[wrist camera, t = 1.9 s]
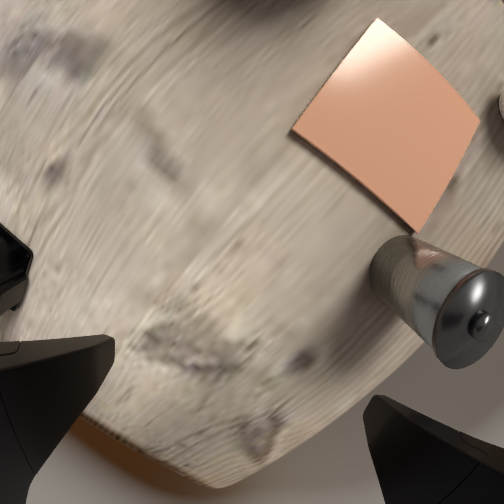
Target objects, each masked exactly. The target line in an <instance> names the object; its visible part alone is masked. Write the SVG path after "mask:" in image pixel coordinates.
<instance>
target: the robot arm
mask: <svg viewBox="0 0 504 504" xmlns="http://www.w3.org/2000/svg"><path fill="white" fill-rule="evenodd" d="M26 253H27V254H28V256H27V254H26ZM32 258H33V252H32V250H31V249H30V248H28V247H27V246H26V245H25V244H24V243H23V242H21V241H20V240H19V239H18V238H17V237H16V236H14V235H13V234H12V233H11V232H10V231H9V230H8V229H7V228H5V227H4V226H3V225H2V224H1V223H0V316H1V315H2V314H3V313H5V312H6V311H7V310H9V309H11V310H12V311H15V310H17V309H18V307H19V303H20V301H21V300H22V297H23V294H24V290H25V286H26V283H27V280H28V276H27V274H28V271H29V268H30V264H31V261H32ZM114 359H115V340H114V338H113V337H110V336H108V335H104V334H102V335H92V336H83V337H72V338H61V339H49V340H35V341H21V343H20V341H13V342H0V504H26V498H27V494H28V490H29V487H30V484H31V482H32V480H33V478H34V476H35V475H36V474H37V473H38V471H39V470H40V468H41V467H42V466H43V464H44V463H45V461H46V460H47V459H48V457H49V456H50V455H51V453H52V452H53V450H54V449H55V448H56V446H57V445H58V443H59V442H60V441H61V439H62V438H63V437H64V436H65V434H66V433H67V431H68V430H69V429H70V427H71V426H72V425H73V424H74V422H75V421H76V420H77V418H78V417H79V416H80V414H81V413H82V412H83V410H84V409H85V408H86V406H87V405H88V404H89V402H90V401H91V400H92V399H93V397H94V396H95V394H96V393H97V392H98V390H99V388H100V387H101V385H102V383H103V381H104V379H105V378H106V376H107V374H108V372H109V371H110V369H111V367H112V365H113V363H114ZM363 421H364V426H365V431H366V436H367V442H368V447H369V451H370V454H371V457H372V460H373V464H374V467H375V470H376V473H377V477H378V480H379V483H380V487H381V490H382V493H383V497H384V501H385V504H504V448H501V447H498V446H496V445H493V444H490V443H487V442H484V441H482V440H479V439H477V438H474V437H472V436H470V435H467V434H465V433H463V432H458V431H457V430H455V429H453V428H451V427H449V426H446V425H444V424H442V423H440V422H438V421H436V420H433V419H431V418H429V417H427V416H425V415H423V414H421V413H419V412H417V411H415V410H413V409H410V408H409V407H407V406H405V405H403V404H401V403H398V402H397V401H395V400H393V399H391V398H389V397H387V396H384V395H374V396H373V397H372V399H371V400H370V402H369V404H368V405H367V407H366V409H365V411H364V413H363Z"/></svg>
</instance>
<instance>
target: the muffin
mask: <svg viewBox="0 0 504 504" xmlns="http://www.w3.org/2000/svg"><path fill="white" fill-rule="evenodd" d="M499 108H500V109H499V110H500V113H501V115H502V118H503V119H504V91H503V93H502V94H501V95H500V98H499Z"/></svg>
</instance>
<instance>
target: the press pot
mask: <svg viewBox="0 0 504 504" xmlns="http://www.w3.org/2000/svg"><path fill="white" fill-rule="evenodd" d="M370 283H371V287H372V289H373V291H374V293H375V294H376V295H377V296H378V297H379V298H380V299H381V300H382V301H383V302H384V303H385V304H386V305H387V306H388V307H389V308H390V309H392V310H393V311H394V312H395V313H396V314H397V315H398V316H399V317H400V318H401V319H402V320H403V321H404V322H405V323H406V324H407V325H408V326H409V327H410V328H411V329H412V330H413V331H415V332H416V333H417V334H418V335H419V336H420V337H421V338H422V339H423V340H424V341H425V342H426V343H427V344H428V345H429V346H430V347H431V348H432V349H433V351H434V353H435V355H436V357H437V358H438V359H439V360H440V361H441V362H442V363H443V364H444V365H445V366H446V367H448V368H451V369H461V368H465V367H467V366H469V365H471V364H473V363H475V362H476V361H477V360H479V359H480V358H481V357H483V356H484V355H485V353H487V352H488V350H489V349H490V348H491V347H492V346H493V344H494V343H495V342H496V340H497V338H498V337H499V335H500V333H501V331H502V329H503V327H504V276H503V275H501V274H500V273H498V272H496V271H494V270H491V269H487V268H481V267H479V266H477V265H475V264H473V263H471V262H468V261H466V260H464V259H462V258H460V257H458V256H455V255H453V254H451V253H449V252H446V251H444V250H442V249H440V248H437V247H435V246H433V245H430V244H428V243H426V242H423V241H421V240H419V239H416V238H414V237H411V236H407V235H402V236H397V237H394V238H392V239H390V240H388V241H387V242H386V243H384V244H383V245H382V246H381V247H380V249H379V250H378V251H377V253H376V254H375V256H374V258H373V261H372V264H371V268H370Z"/></svg>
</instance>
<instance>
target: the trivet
mask: <svg viewBox="0 0 504 504" xmlns="http://www.w3.org/2000/svg"><path fill="white" fill-rule="evenodd" d="M479 122H480V120H479V118H478V117H477V116H476V114H475V113H474V112H473V111H472V109H471V108H470V107H469V106H468V105H467V103H466V102H465V101H464V100H463V99H462V98H461V96H460V95H459V94H458V93H457V92H456V91H455V90H454V88H453V87H452V86H451V85H450V84H449V83H448V82H447V81H446V80H445V79H444V78H443V76H442V75H441V74H440V73H439V72H438V71H437V70H436V69H435V68H434V67H433V66H432V65H431V64H430V63H429V62H428V61H427V60H426V59H425V58H424V57H423V56H421V55H420V54H419V53H418V52H417V51H416V50H415V49H414V48H413V47H412V46H411V45H409V44H408V43H407V42H406V41H405V40H404V39H403V38H402V37H400V36H399V35H398V34H397V33H396V32H394V31H393V30H392V29H391V28H390V27H388V26H387V25H386V24H385V23H383V22H382V21H381V20H379V19H378V18H376V19H375V20H374V21H373V22H372V24H371V25H370V26H369V27H368V29H367V30H366V31H365V32H364V34H363V35H362V36H361V37H360V39H359V40H358V41H357V42H356V44H355V45H354V46H353V48H352V49H351V50H350V51H349V53H348V54H347V55H346V57H345V58H344V59H343V60H342V62H341V63H340V64H339V66H338V67H337V68H336V69H335V71H334V72H333V73H332V75H331V76H330V77H329V79H328V80H327V81H326V83H325V84H324V85H323V87H322V88H321V89H320V91H319V92H318V93H317V95H316V96H315V97H314V99H313V100H312V101H311V103H310V104H309V105H308V107H307V108H306V109H305V111H304V112H303V113H302V115H301V116H300V118H299V119H298V120H297V122H296V123H295V124H294V126H293V127H292V129H291V131H293V132H294V133H296V134H297V135H298V136H300V137H301V138H303V139H304V140H305V141H307V142H308V143H309V144H311V145H312V146H313V147H315V148H316V149H317V150H319V151H320V152H321V153H323V154H324V155H325V156H327V157H328V158H329V159H330V160H332V161H333V162H334V163H336V164H337V165H338V166H339V167H341V168H342V169H343V170H344V171H346V172H347V173H348V174H349V175H351V176H352V177H353V178H354V179H355V180H357V181H358V182H359V183H360V184H361V185H363V186H364V187H365V188H366V189H367V190H368V191H370V192H371V193H372V194H373V195H374V196H375V197H377V198H378V199H379V200H380V201H381V202H382V203H383V204H385V205H386V206H387V207H388V208H389V209H390V210H391V211H392V212H393V213H395V214H396V215H397V216H398V217H399V218H400V219H401V220H402V221H403V222H404V223H405V224H406V225H408V226H409V227H410V228H411V229H412V230H413V231H414V232H416V233H419V231H420V230H421V228H422V226H423V225H424V223H425V222H426V220H427V219H428V217H429V215H430V214H431V212H432V210H433V209H434V207H435V205H436V204H437V202H438V200H439V199H440V197H441V195H442V194H443V192H444V190H445V188H446V187H447V185H448V183H449V181H450V179H451V178H452V176H453V174H454V172H455V170H456V168H457V167H458V165H459V163H460V161H461V159H462V157H463V155H464V153H465V151H466V149H467V147H468V145H469V143H470V141H471V139H472V137H473V135H474V133H475V131H476V129H477V127H478V124H479Z"/></svg>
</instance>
